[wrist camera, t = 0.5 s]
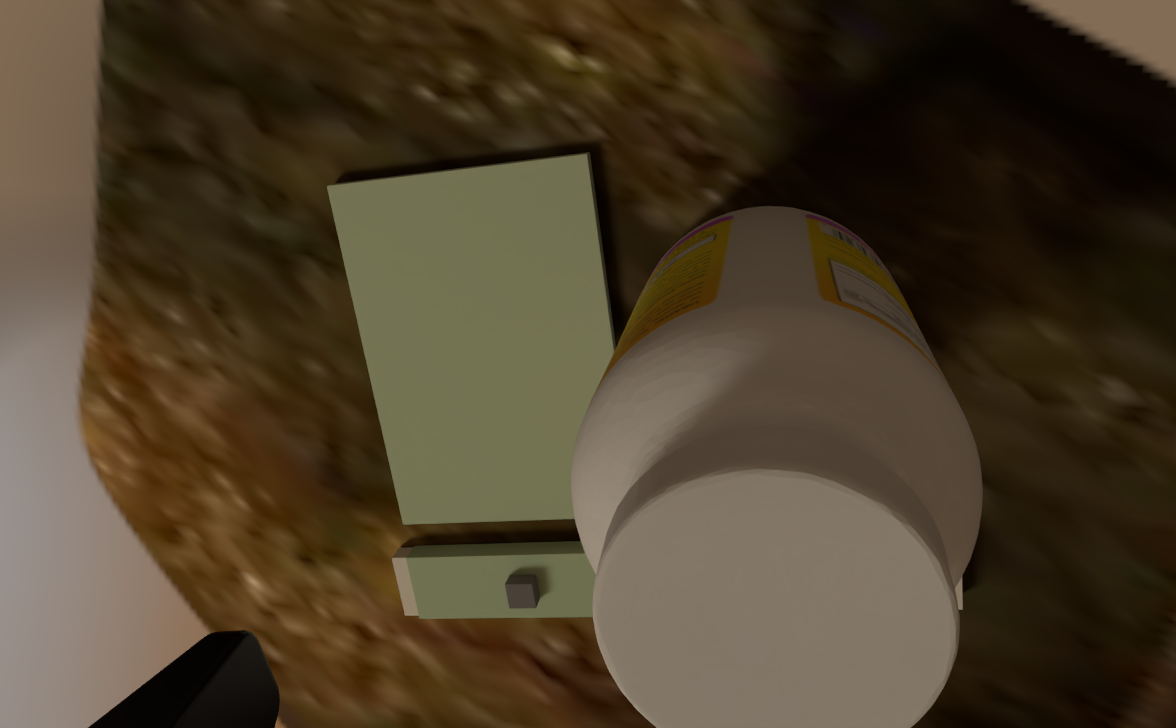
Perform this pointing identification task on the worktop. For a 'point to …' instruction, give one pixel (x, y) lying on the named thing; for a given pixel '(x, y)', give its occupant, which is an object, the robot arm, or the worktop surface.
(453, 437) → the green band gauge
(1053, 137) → the worktop surface
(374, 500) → the worktop surface
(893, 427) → the supplement bottle
